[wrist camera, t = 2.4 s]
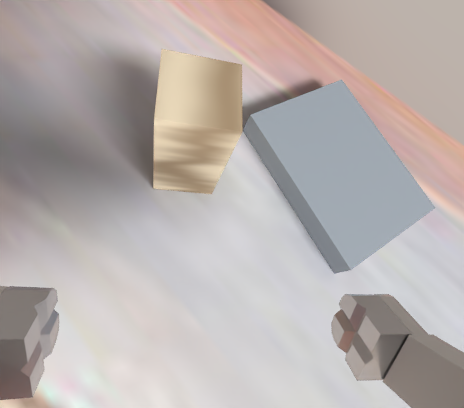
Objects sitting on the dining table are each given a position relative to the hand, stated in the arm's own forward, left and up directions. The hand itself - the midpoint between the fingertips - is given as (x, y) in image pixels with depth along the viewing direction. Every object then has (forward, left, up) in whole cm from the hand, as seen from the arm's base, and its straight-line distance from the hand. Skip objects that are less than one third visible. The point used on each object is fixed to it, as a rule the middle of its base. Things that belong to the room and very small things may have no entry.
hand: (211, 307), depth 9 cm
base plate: (-3, +20, -16) cm, 25 cm away
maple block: (-10, +7, -15) cm, 20 cm away
